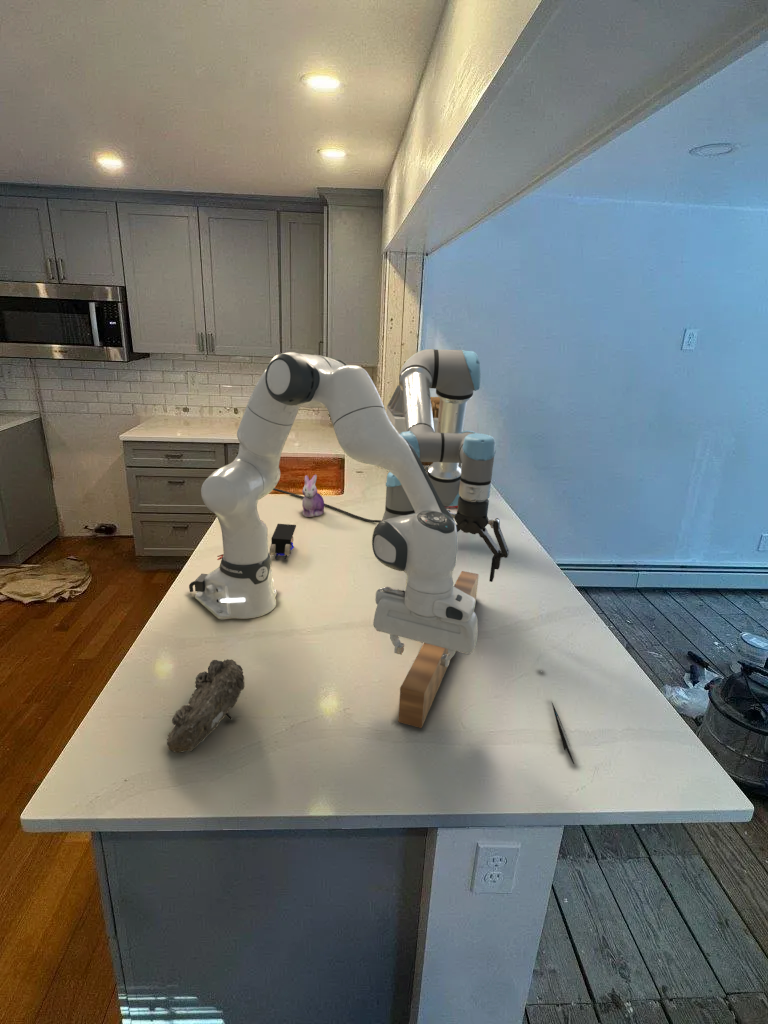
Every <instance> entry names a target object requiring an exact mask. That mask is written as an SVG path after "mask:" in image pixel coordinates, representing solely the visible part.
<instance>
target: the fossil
mask: <svg viewBox="0 0 768 1024" xmlns="http://www.w3.org/2000/svg"><path fill="white" fill-rule="evenodd" d="M243 670H244V669H243V667H242V665H240V664H237V662H236V661H235V660H234V659H232V658H231V659H227V658H226V659H224V660H223V661H222V660H217V659H212V660H211V661H210V663H209V665H208V666H207V671H201V672H199V673H198V674H197V675H196V676H195V680H194V684H195V685H194V687H195V689H194V690H193V693H192V694H191V697H190V698H189V700H188V704H184V705H182V706H181V707H180V709H177V710H176V711H175V713H174V715H173V716H172V718H171V723H172V724H173V727H172V730H171V731H170V732H168V734H167V738H166V741H167V742H166V745H167V749H168V750H169V751H173V752H174V753H176V754H178V753H182V752H188V751H189V752H192V751H193V750H195V748H196V747H197V746H199V744H200V743H201V742H203V741H204V740H205V739H206V738H207V737H208V736H209V735H210V734H211V733H212V732H214V730H215V729H217V727H218V726H219V724H220V722H221V721H222V720H223V719H224V718H225V716H226V717H227V719H229V720H233V717H232V715H230V714H229V710H230V709H231V708H234V706H235V704H236V703H237V702H238V699H239V697H240V695H241V693H242V691H243V690H245V689H244V688H245V675H244V671H243Z"/></svg>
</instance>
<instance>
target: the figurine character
mask: <svg viewBox="0 0 768 1024" xmlns="http://www.w3.org/2000/svg"><path fill="white" fill-rule="evenodd" d="M296 528H297V524H290V523H289V524H288V523H277V525H276V526H275V529H274V531H273V533H272V536H271V542H270V547H269V554H270V556H274V559H275V560H278V558H279V556H281V557H282V556H284V557H283V560H287V559H288V556H290V555H291V554H292V553H291V551H293V550H294V548H295V545H294V533H295V531H296Z"/></svg>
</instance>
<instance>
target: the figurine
mask: <svg viewBox="0 0 768 1024" xmlns="http://www.w3.org/2000/svg"><path fill="white" fill-rule="evenodd" d="M317 478H318V475H317V474H313V476H312V477H311V478H309V476H308V475H307V474H306V475H305V476H304V486H303V488H302V492H301V493H302V496H303V497H304V498H303V499H302V503H301V505H302V515H303V517H307V518H313V517H319V516H322V515H323V514H324V512H325V506H324V503H325V500H324V498H323V496H322V495H321V494H320V493H318V488H317V486H316V482H317Z"/></svg>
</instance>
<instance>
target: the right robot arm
mask: <svg viewBox="0 0 768 1024" xmlns="http://www.w3.org/2000/svg"><path fill="white" fill-rule="evenodd" d="M480 363H481V362H480V357H479V356H478V354H477V353H476V352H475V351H473V350H464V349H436V348H435V349H434V348H426V349H421V350H419V351H417V352H415V353H414V354H413V355H411V356H410V357H408V359H407V360H406V361H405V362H404V364H403V365H402V367H401V368H400V371H399V375H398V376H399V377H398V381H399V382H398V383H399V385H400V387H401V389H402V390H403V392H404V408H405V425H406V432H401V434H400V435H401V436H402V437H403V438H404V439H406V440H407V441H408V442H409V443H410V444H411V445H412V447H413V448H414V450H415V452H416V453H417V455H418V457H419V459H420V461H421V462H433V464H431V465H430V466H429V465H428V466H427V471H426V473H427V475H428V477H429V479H430V481H431V483H432V485H433V487H434V489H435V491H436V492H437V494H438V496H439V498H440V500H441V502H442V503H443V505H444V506H445V508H446V507H449V506H458V507H457V508H456V512H455V513H454V512H451V510H450V509H447V510H448V512H449V513H450V515H451V516H452V517H453V519H454V521H455V523H456V526H457V533H459V532H460V531H462V533H464V534H471V535H479V537H480V538H481V539H482V540H483V541H484V544H486V546H487V547H488V548H489V550H490V551H491V553H492V554H493V556H492V558H491V565H490V573H489V579H488V581H489V582H490V583H492V582H493V581H494V579H495V572H496V571H495V570H499V569H500V567H501V562H502V561H501V560H502V558H504V559H506V558H508V557H509V554H510V550H509V547H508V545H507V542H506V540H505V537H504V535H503V531H502V528H501V520H500V518H499V517H496V518H495V519H493V518H489V517H488V514H489V513H488V512H489V504H490V499H489V498H490V495H491V488H492V479H493V478H492V477H493V470H494V462H495V461H494V460H495V455H496V451H497V450H496V438H494V437H493V436H492V435H489V434H486V433H478V432H475V431H473V430H469V429H468V430H464V431H463V428H464V429H465V421H466V420H465V419H466V412H467V405H468V401H470V400H471V399H472V398H473V396H474V392H476V391H479V390H480V388H481V378H482V377H481V375H482V374H481V373H482V372H481V364H480ZM430 389H435V395H436V397H439V398H440V404H439V413H438V422H437V432H436V433H435V430H434V422H433V414H432V406H431V398H430V397H431V392H430ZM464 420H465V421H464ZM459 463H461V468H460V467H459V466H458V465H459ZM385 487H386V488H385V489H386V490H385V504H384V505H385V507H384V508H385V509H384V513H383V515H382V519H369V518H366V517H362V516H360V515H356V514H353V513H351V512H348V511H346V510H343V509H341V508H338V507H336V506H332V505H330V504H327V503H325V502H324V507H326V508H329V509H331V510H334V511H337V512H340V513H342V514H345V515H348V516H350V517H352V518H354V519H359V520H361V521H364V522H368V523H377V524H378V523H379V522H381V521H384V520H386V519H390V518H394V517H398V516H405V515H409V514H413V513H415V511H414V509H413V507H412V505H411V503H410V501H409V499H408V497H407V495H406V493H405V491H404V489H403V487H402V485H401V483H400V481H399V480H398V478H397V477H396V476H395V475H394V474H392V473H391V472H389V471H388V473H387V475H386V482H385ZM272 491H275V492H279V493H282V494H286V495H290V496H294V497H296V498H298V499H299V498H300V499H302V500H303V498H304V495H300V494H297V493H293V492H291V491H290V492H289V491H287V490H283V489H279V488H276V487H274V489H273V490H272ZM488 525H489V526H490V528H491V529H492V530H493V534H494V536H495V539H496V541H497V543H496V542H495V540H494V539H493V537H492V536H491V535H490V533H489V531H488V530H487V526H488ZM497 544H498V545H497Z"/></svg>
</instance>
